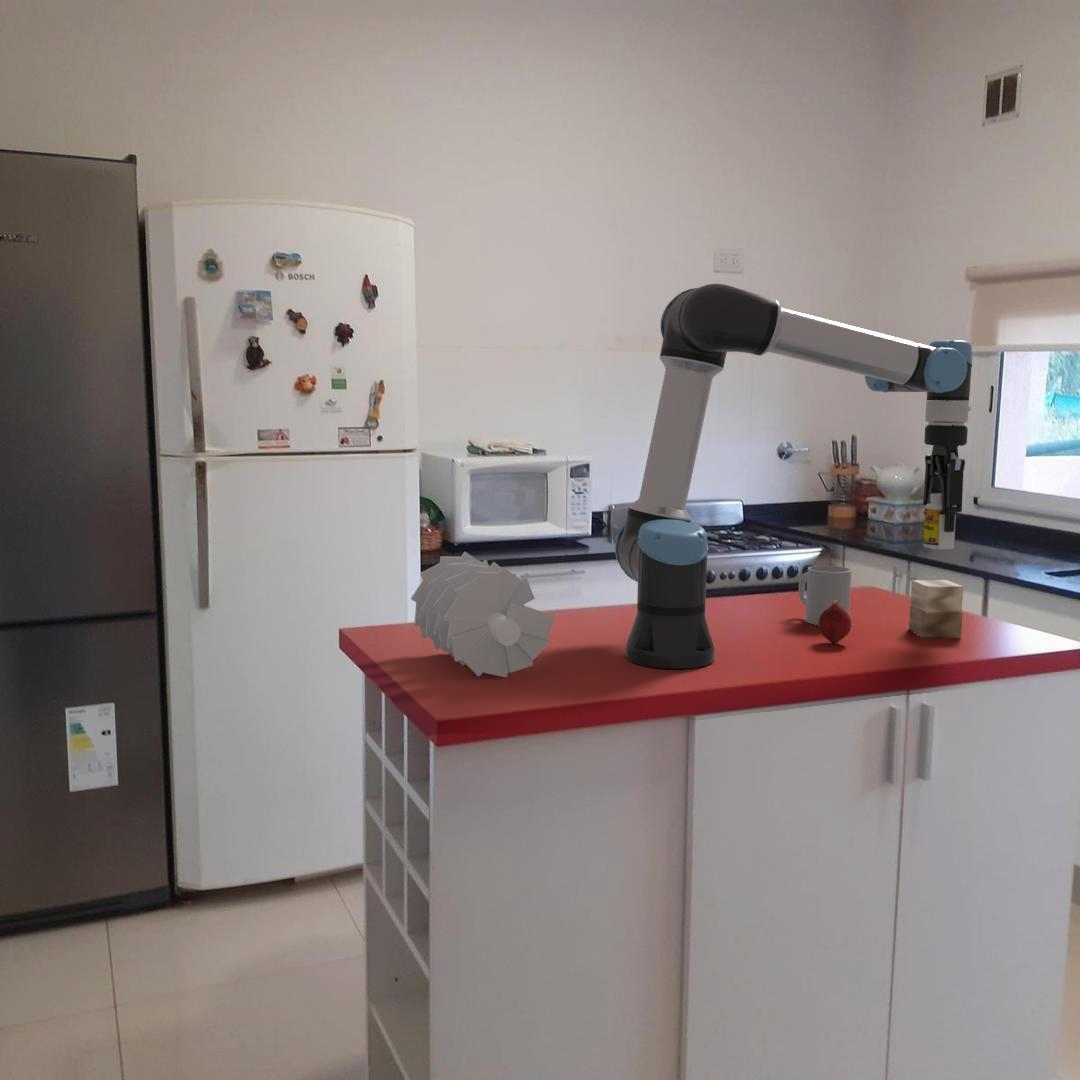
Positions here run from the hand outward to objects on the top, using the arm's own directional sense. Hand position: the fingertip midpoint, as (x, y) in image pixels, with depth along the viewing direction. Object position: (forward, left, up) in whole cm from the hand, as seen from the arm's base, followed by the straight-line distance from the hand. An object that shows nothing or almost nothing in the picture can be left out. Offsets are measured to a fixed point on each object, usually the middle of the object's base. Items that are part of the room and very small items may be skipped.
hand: (939, 546), depth 209 cm
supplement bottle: (0, 0, 0) cm, 1 cm away
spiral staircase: (-87, -25, -17) cm, 92 cm away
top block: (0, 0, -12) cm, 12 cm away
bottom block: (0, 0, -17) cm, 17 cm away
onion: (-22, -9, -17) cm, 29 cm away
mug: (-19, +11, -17) cm, 28 cm away
